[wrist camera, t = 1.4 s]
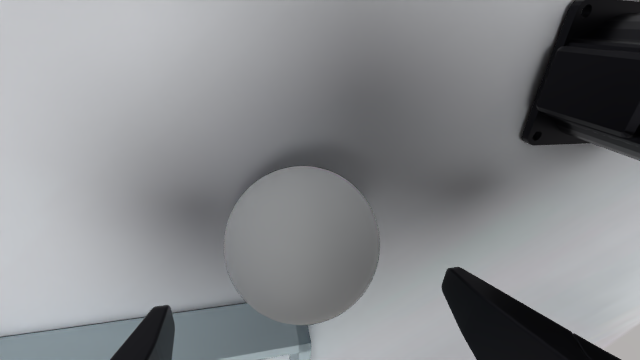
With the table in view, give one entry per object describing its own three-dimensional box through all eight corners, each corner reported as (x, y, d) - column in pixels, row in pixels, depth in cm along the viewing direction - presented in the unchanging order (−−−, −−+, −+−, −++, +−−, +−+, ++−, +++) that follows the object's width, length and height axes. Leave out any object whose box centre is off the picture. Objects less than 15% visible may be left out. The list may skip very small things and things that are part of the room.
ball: (358, 141, 14) (425, 214, 9) (345, 244, 17) (392, 346, 12) (220, 145, 13) (207, 233, 8) (232, 257, 16) (227, 377, 10)
